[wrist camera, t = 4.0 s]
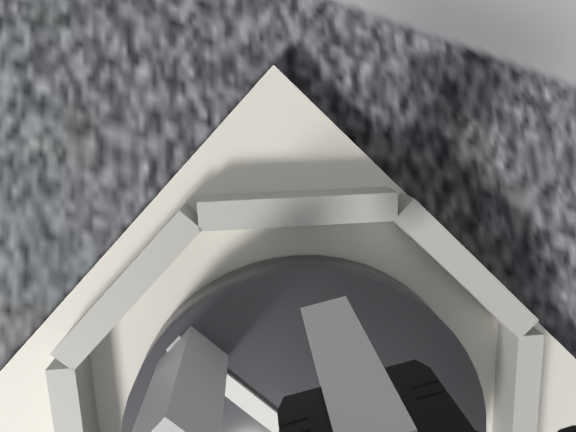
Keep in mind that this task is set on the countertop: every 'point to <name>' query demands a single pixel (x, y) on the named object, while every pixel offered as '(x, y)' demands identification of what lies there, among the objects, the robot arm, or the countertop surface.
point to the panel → (266, 245)
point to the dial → (282, 346)
